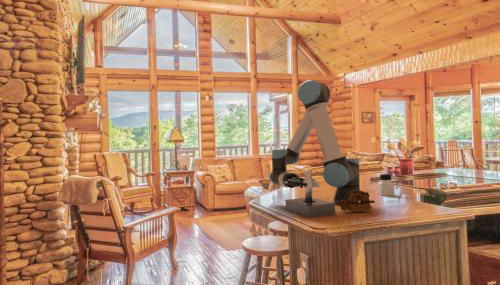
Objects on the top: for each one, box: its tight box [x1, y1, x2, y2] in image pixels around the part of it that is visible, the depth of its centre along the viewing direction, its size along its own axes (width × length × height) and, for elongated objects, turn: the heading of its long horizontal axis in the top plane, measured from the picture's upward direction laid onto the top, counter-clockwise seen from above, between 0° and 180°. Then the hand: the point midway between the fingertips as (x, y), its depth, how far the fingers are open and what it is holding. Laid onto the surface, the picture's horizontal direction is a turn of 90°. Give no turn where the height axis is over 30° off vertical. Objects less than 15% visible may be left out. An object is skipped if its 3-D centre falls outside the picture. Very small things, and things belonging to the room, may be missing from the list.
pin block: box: [285, 197, 336, 219], centre depth 175 cm, size 20×14×5 cm
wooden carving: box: [338, 190, 376, 213], centre depth 171 cm, size 16×5×10 cm, turn 87°
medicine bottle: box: [377, 173, 395, 197], centre depth 217 cm, size 7×7×12 cm
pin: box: [304, 169, 313, 203], centre depth 175 cm, size 3×3×16 cm
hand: (315, 185), depth 170 cm, fingers closed on pin, 3 cm apart
